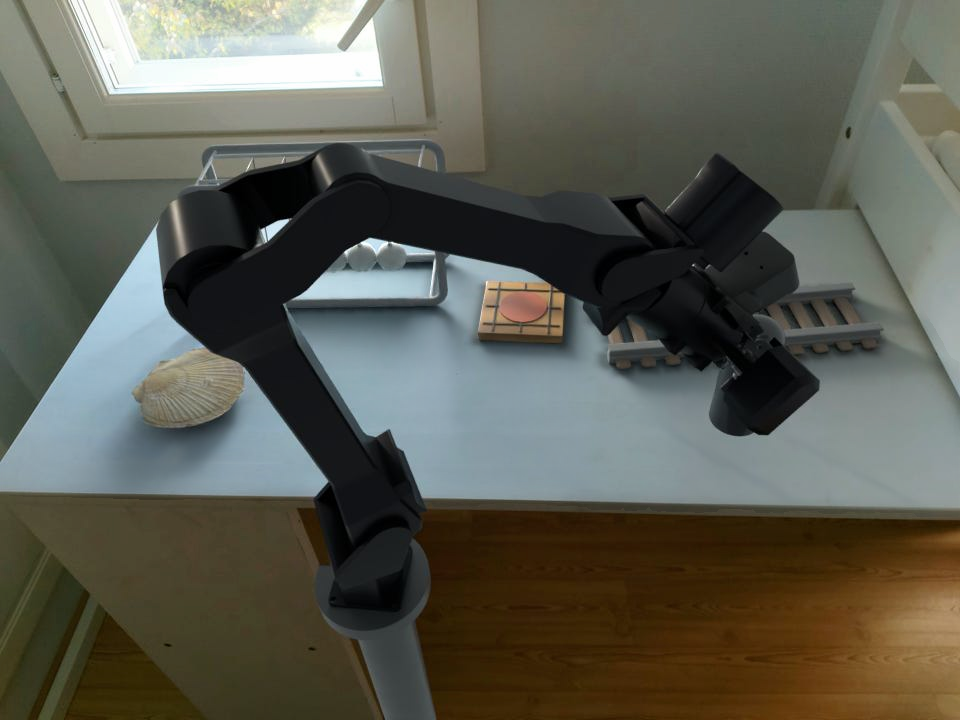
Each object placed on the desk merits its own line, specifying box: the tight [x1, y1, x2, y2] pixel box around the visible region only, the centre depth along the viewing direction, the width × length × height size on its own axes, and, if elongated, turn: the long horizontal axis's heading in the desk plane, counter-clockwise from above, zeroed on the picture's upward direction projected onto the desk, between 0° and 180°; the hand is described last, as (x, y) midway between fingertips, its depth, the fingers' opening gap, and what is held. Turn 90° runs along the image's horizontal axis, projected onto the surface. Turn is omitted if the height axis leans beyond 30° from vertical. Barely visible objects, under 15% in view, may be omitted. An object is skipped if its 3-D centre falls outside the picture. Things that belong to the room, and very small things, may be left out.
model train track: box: [606, 281, 884, 371], centre depth 89 cm, size 11×31×2 cm, turn 94°
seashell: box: [131, 347, 246, 429], centre depth 84 cm, size 12×12×3 cm
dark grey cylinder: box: [708, 313, 786, 437], centre depth 68 cm, size 5×5×12 cm
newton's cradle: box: [176, 138, 450, 309], centre depth 93 cm, size 30×10×18 cm, turn 88°
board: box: [477, 280, 566, 344], centre depth 92 cm, size 10×10×1 cm
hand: (761, 365), depth 68 cm, fingers closed on dark grey cylinder, 5 cm apart
